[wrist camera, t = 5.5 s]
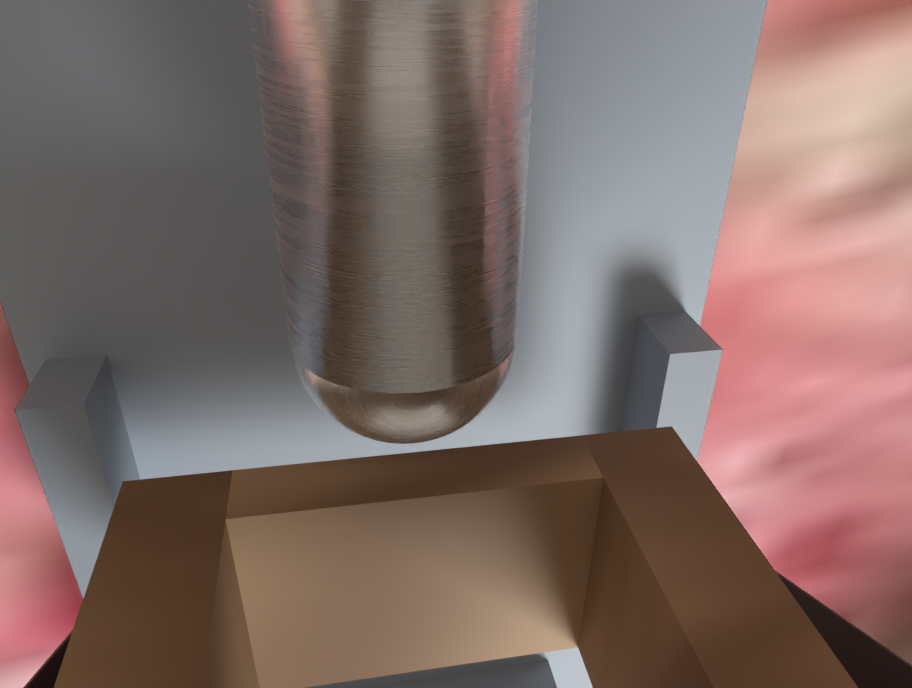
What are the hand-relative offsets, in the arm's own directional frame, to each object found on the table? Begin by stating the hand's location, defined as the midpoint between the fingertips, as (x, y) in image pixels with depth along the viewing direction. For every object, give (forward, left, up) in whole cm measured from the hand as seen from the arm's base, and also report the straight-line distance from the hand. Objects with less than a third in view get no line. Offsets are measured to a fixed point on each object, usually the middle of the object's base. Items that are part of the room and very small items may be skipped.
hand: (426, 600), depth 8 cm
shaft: (0, -13, -3) cm, 13 cm away
